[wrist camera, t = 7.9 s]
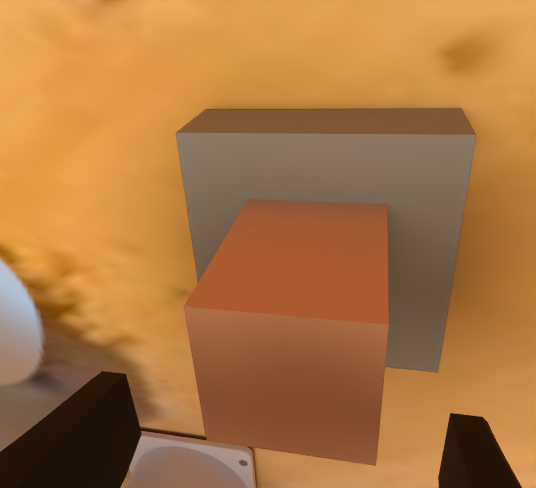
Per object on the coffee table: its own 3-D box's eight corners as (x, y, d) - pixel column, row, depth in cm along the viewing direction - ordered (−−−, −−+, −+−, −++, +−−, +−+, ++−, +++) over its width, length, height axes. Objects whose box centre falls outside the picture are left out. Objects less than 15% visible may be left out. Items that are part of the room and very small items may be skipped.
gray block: (431, 322, 20) (438, 372, 18) (228, 305, 22) (208, 348, 20) (461, 108, 16) (476, 134, 13) (205, 109, 18) (175, 132, 15)
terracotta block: (378, 318, 17) (376, 465, 12) (256, 307, 18) (206, 440, 13) (387, 204, 15) (388, 324, 10) (248, 198, 16) (183, 306, 11)
